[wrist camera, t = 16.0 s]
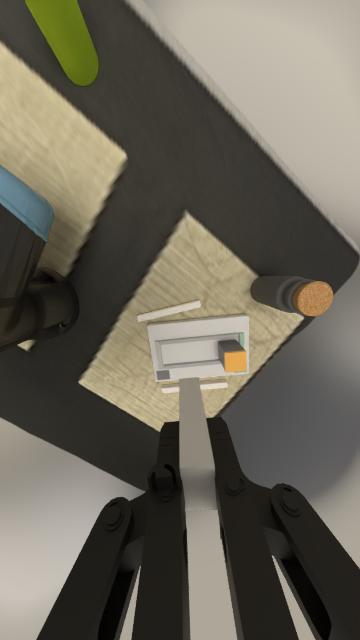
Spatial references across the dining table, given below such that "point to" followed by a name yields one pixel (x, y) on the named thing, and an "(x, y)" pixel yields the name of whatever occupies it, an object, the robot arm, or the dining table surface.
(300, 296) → the bottle
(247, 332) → the panel
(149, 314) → the light grey thin bar
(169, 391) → the light grey long bar
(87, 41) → the soap dispenser
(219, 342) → the knob
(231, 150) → the dining table surface
